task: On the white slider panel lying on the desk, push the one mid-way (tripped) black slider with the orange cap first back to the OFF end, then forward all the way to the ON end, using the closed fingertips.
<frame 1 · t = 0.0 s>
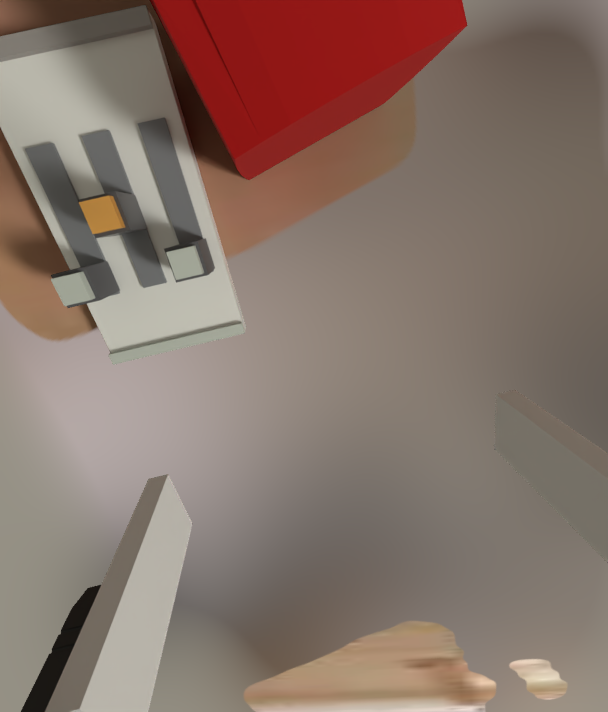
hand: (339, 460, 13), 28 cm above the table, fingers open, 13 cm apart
tripped breaker: (114, 215, 29), point 5 cm above the table, slide at 5.0 cm
red rectangular box: (290, 82, 31), on the table
white slider panel: (136, 215, 34), on the table
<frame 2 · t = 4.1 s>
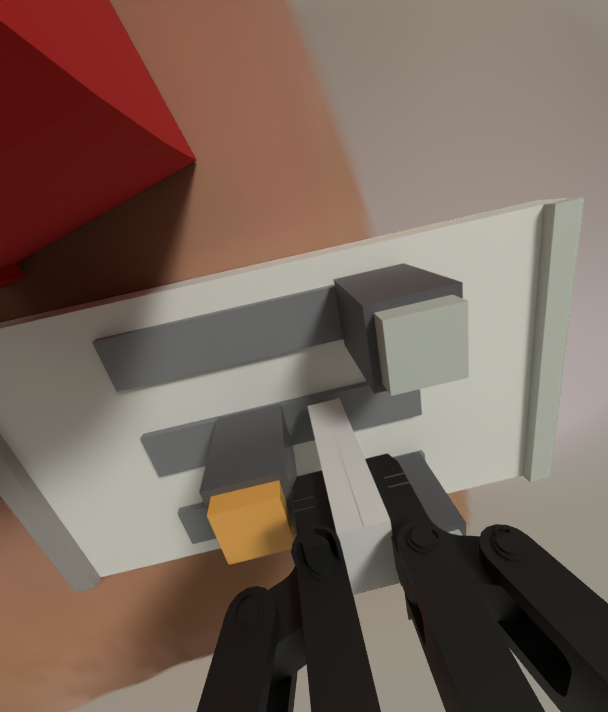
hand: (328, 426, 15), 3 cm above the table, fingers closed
tripped breaker: (255, 476, 13), point 5 cm above the table, slide at 3.6 cm, touching gripper
white slider panel: (283, 401, 18), on the table
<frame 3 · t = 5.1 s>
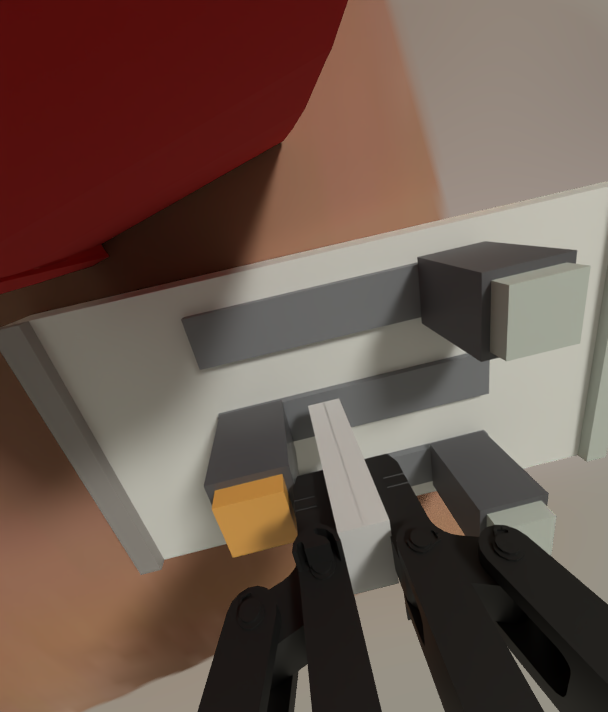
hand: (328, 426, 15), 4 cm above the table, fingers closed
tripped breaker: (258, 471, 14), point 5 cm above the table, slide at -0.1 cm, touching gripper
white slider panel: (347, 383, 19), on the table
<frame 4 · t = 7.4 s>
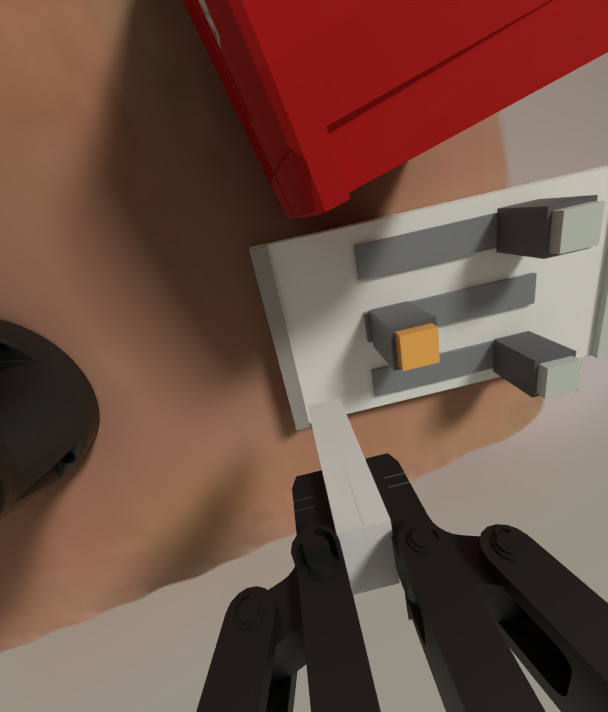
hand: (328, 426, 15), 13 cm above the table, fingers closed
tripped breaker: (403, 335, 23), point 5 cm above the table, slide at 0.0 cm
red rectangular box: (299, 53, 21), on the table
white slider panel: (436, 301, 28), on the table
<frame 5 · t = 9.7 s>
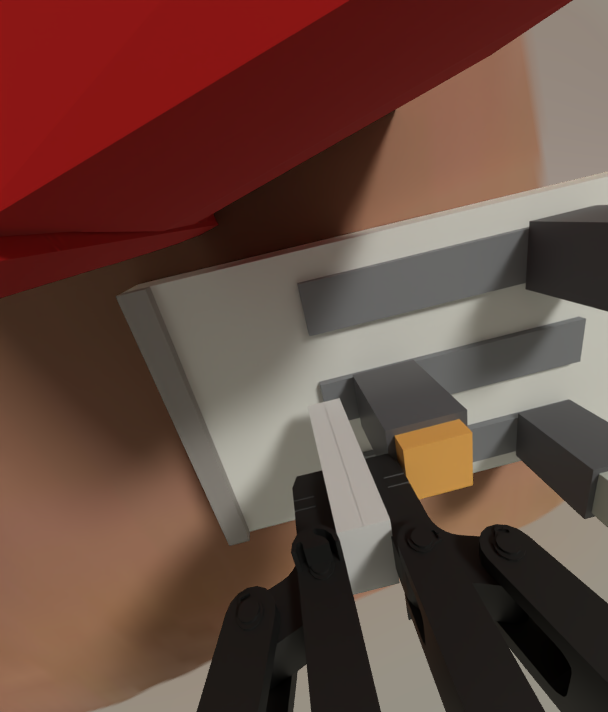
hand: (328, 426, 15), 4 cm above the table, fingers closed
tripped breaker: (408, 424, 14), point 5 cm above the table, slide at 1.3 cm, touching gripper
white slider panel: (432, 354, 19), on the table
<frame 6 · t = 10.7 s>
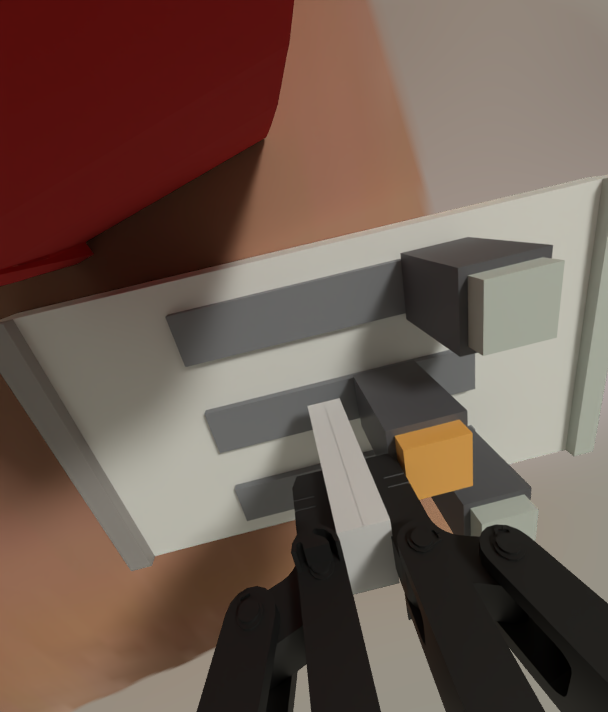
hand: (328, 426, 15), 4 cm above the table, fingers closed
tripped breaker: (408, 425, 14), point 5 cm above the table, slide at 7.1 cm, touching gripper
white slider panel: (335, 379, 19), on the table
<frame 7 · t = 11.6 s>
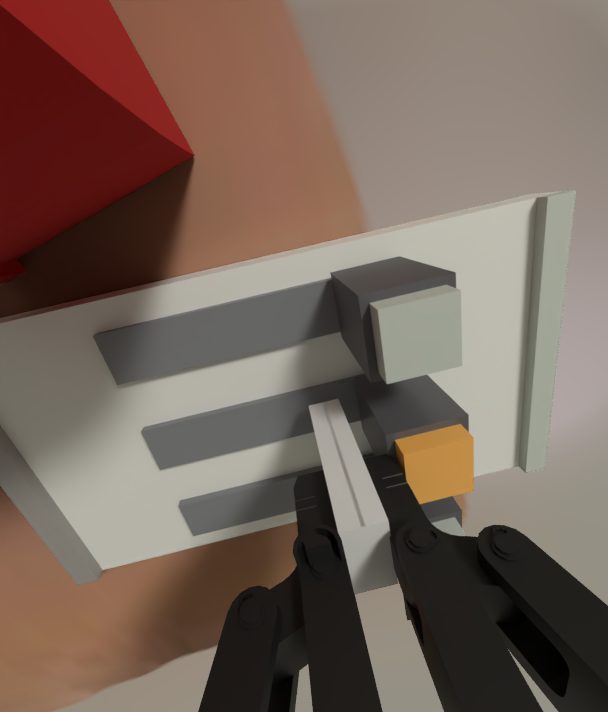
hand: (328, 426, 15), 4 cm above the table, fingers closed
tripped breaker: (409, 428, 14), point 5 cm above the table, slide at 10.2 cm, touching gripper
white slider panel: (282, 394, 19), on the table
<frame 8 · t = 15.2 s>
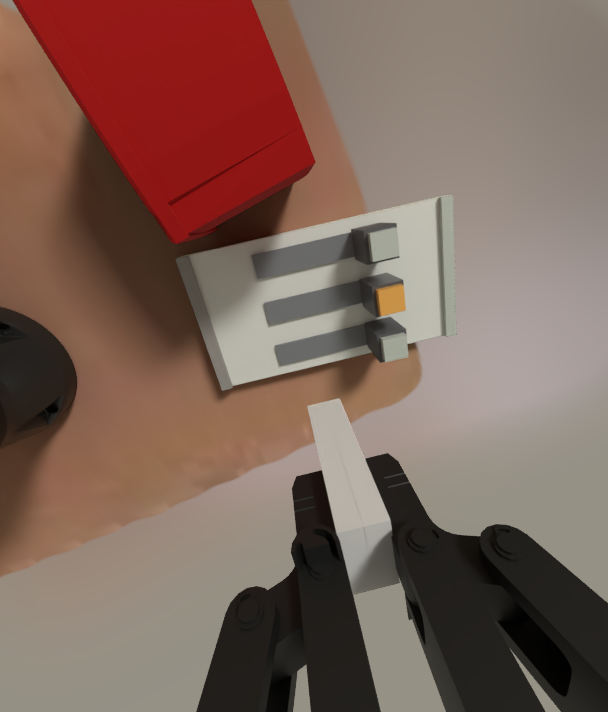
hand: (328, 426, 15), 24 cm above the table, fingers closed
tripped breaker: (382, 294, 33), point 5 cm above the table, slide at 10.0 cm
red rectangular box: (205, 126, 31), on the table
white slider panel: (324, 295, 38), on the table
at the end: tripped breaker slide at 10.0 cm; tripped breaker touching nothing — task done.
